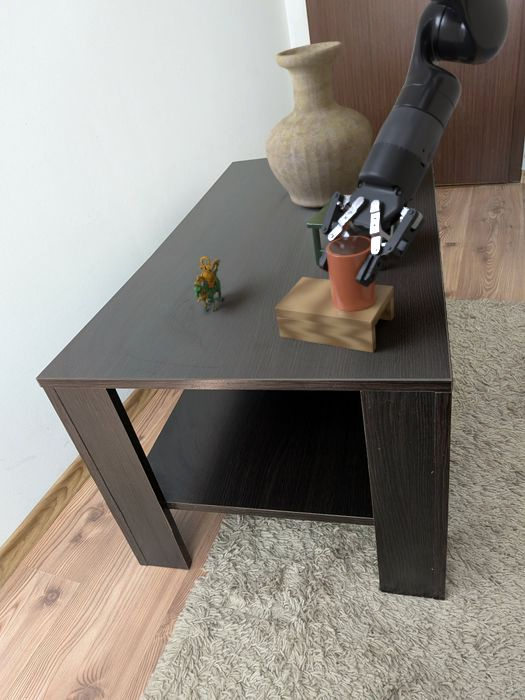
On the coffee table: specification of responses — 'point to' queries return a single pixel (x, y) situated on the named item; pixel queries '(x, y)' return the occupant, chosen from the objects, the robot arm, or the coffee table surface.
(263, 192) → the coffee table surface
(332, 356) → the coffee table surface
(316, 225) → the green miniature table
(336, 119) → the vase
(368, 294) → the cup
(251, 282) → the coffee table surface
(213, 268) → the figurine
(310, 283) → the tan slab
